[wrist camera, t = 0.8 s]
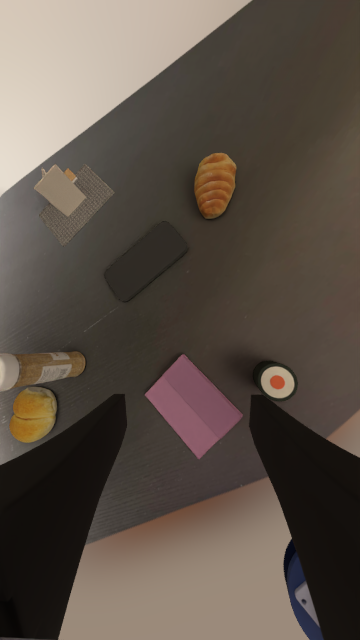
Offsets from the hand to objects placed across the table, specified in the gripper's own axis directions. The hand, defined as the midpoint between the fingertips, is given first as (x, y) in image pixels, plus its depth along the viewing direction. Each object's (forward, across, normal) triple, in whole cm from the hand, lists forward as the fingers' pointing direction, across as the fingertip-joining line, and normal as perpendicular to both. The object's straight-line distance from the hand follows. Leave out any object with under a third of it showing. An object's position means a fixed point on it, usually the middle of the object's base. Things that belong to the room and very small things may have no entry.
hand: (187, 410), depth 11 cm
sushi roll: (+16, -12, +6) cm, 21 cm away
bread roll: (+21, +27, +16) cm, 38 cm away
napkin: (+16, -1, +11) cm, 20 cm away
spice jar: (+23, +20, +8) cm, 31 cm away
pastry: (+28, -5, -21) cm, 35 cm away
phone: (+26, +7, -10) cm, 29 cm away
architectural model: (+35, +23, -22) cm, 47 cm away
